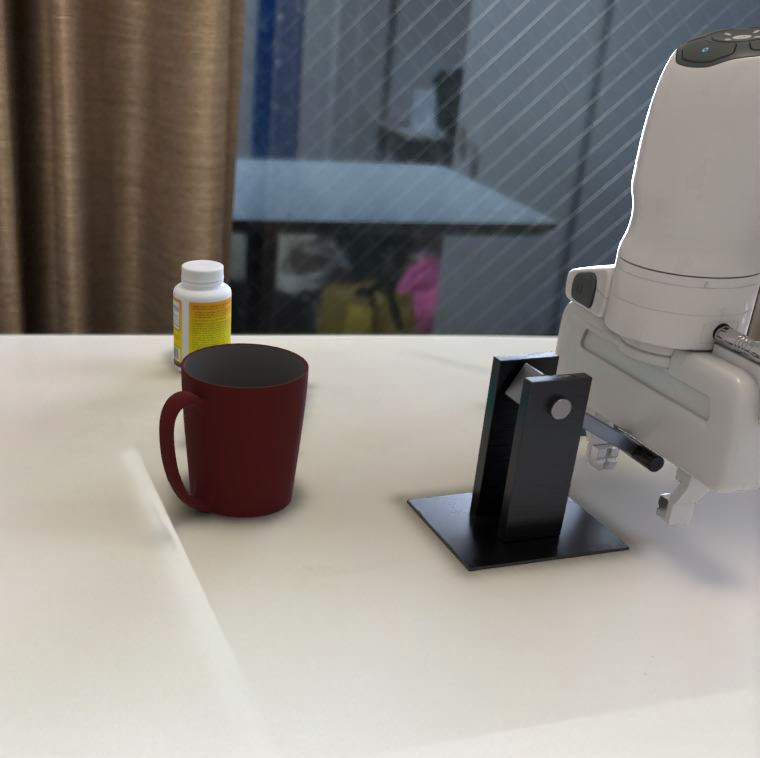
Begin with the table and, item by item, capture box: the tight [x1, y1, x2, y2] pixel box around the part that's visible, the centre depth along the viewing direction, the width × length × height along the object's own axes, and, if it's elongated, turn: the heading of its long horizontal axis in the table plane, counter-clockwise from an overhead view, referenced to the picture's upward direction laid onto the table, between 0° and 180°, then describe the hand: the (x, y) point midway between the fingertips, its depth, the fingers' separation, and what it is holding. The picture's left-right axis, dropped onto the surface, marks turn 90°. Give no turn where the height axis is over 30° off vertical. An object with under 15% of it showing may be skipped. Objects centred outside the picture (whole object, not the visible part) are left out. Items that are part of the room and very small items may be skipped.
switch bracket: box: [406, 351, 630, 572], centre depth 71 cm, size 12×10×13 cm
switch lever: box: [505, 363, 665, 473], centre depth 71 cm, size 12×5×2 cm, turn 105°
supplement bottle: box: [172, 259, 233, 373], centre depth 100 cm, size 6×6×10 cm
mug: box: [158, 342, 310, 519], centre depth 74 cm, size 12×9×11 cm
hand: (634, 492), depth 75 cm, fingers open, 7 cm apart
